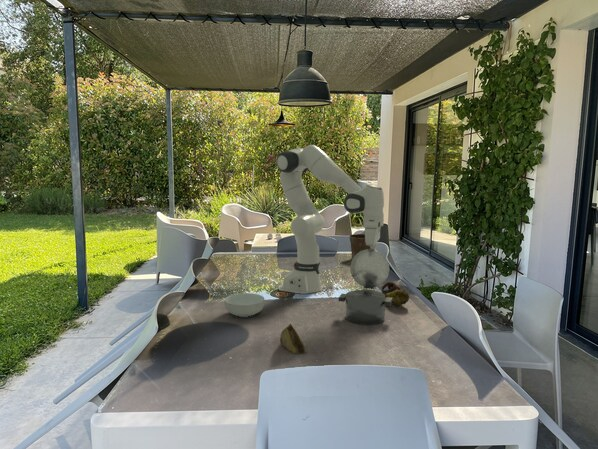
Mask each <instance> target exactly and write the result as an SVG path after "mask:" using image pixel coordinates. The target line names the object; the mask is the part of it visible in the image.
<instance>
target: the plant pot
mask: <svg viewBox="0 0 598 449" xmlns="http://www.w3.org/2000/svg"><path fill="white" fill-rule="evenodd" d="M349 242H350V251H351V252H350V253H351V260H352V259H353V258H354V256H355V255H356V254H357V253H358V252H360V251H362V250H366V249H371V248H370V246H368V245H366V242H365V233H361V234H360V233H357V234H356V233H355V234H354V233H353V234H350V235H349Z"/></svg>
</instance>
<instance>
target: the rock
mask: <svg viewBox="0 0 598 449" xmlns="http://www.w3.org/2000/svg"><path fill="white" fill-rule="evenodd" d="M279 343H280V345H281V346H283V347H284V348H285V349H287V350H288V351H290V352H292V353H294V354H306V353H307V351H306V347H305V344H304V343H303V341H302V339H301V337H300V335H299V334H298V333H297V331H296V329H295V328H294V327H293V325H292V323H289V324H288V325H287V327H284V329H283V330H282V331H281V333H280V338H279Z"/></svg>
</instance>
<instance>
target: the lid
mask: <svg viewBox="0 0 598 449" xmlns="http://www.w3.org/2000/svg"><path fill="white" fill-rule="evenodd" d="M349 270H350V274H351V277H352V279H353V280H354V282H355V283H357V284H358V285H360V286H361V287H363V289H372V290H375V288H377V287H379V286H382V284H383V283H385V282H386V280H387V278H388V277H389V273H390V264H389V261H388V259H387V258H386V256H385V254H383V253H382V252H380V251H379V250H377V249H376V250H373V249H366V250H362V251H360V252H358V253H357V254H356V255H355V256H354V258H353V259H352V258H351V262H350V267H349Z"/></svg>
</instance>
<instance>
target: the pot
mask: <svg viewBox="0 0 598 449" xmlns="http://www.w3.org/2000/svg"><path fill="white" fill-rule="evenodd" d="M338 302H343V303H344V302H345V320H346V321H348V322H349V323H352V324H356V325H361V326H371V325H372V326H373V325H379V324H382V323H383V322H385V319H386V316H385V315H386V306H389V307H391V305H392V298H390V297H386V299H385V295H384V294H383V293H382V291H381V292H380V291H377V290H375V289H365V288H362V289H357V290H354V289H353V290H350V291H348V292H346V293H341V294H340V295H339V296H338Z"/></svg>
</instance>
